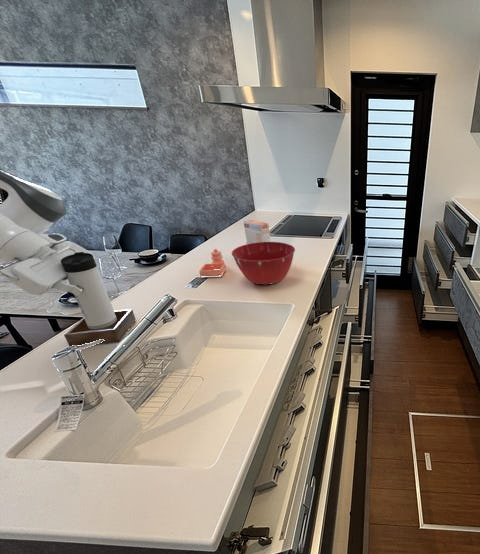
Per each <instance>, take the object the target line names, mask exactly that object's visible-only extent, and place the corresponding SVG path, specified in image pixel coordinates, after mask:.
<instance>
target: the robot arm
mask: <svg viewBox="0 0 480 554" xmlns="http://www.w3.org/2000/svg"><path fill="white" fill-rule="evenodd" d="M0 189H1V190H4V191H5V192H7V194H8V196H7V198H6V199H5V200H3V202H2V203H0V261H1V262H2V263H0V275H1V276H3V277H4V278H6V279H7V280H8V281H9V282H11V283H12V284H13V285H14V286H16V287H18V288H19V289H21V290H22V291H24V292H27V293H28V294H30V295H33V296H42V295H44V294H46V293H47V292H50V291H51V290H53V289H55V290H57V291H61V292H66V293H70V294H73V295H74V294H75V295H79V294H80V293H82V292H83V290H84V288H83V287H81V286H79V285H76V286H74V285H71V284H70V283H68V279H67V275H68V274H66V272H65V271H64V268H63V266H62V264H61V259H63V258H64V257H66V256H69V255H72V254H74V253H76V252H84V253H90V254H92V255H93V257H94V260H95V261H96V257H95V255H94V254H93V253H92V252H90V251H89V250H87V249H86V248H85V247H83V246H81V245H79V244H77V243H76V242H73V241H70V240H69V241H68V240H67V239H68V238H67V236H65V235H63V234H61V233H46V232H47V231H48V230H49V229H50V228H51V227H52V226H53V225H54V224H55V223H57V222H59V220H61V219H62V218H63V217H65V216H66V215H67V206H66V202H65V200H64V198H62V197H61V196H60V195H59V194H57V193H56V192H54V191H52V190H50V189H48V188H46V187H43V186H40V185H37V184H35V183H32V182H30V181H27V180H26V179H23V178H21V177H19V176H17V175H14V174H13V173H10V172H8V171H6V170H4V169H2V168H0ZM75 295H74V296H75Z"/></svg>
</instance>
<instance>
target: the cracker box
mask: <svg viewBox="0 0 480 554" xmlns="http://www.w3.org/2000/svg"><path fill="white" fill-rule="evenodd" d="M269 226H270V225H269V222H264V221H258V220H253V219H249V220H245V221H243V227H244V234H245V241H246V244H251V243H258V242H271V236H270V228H269Z"/></svg>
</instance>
